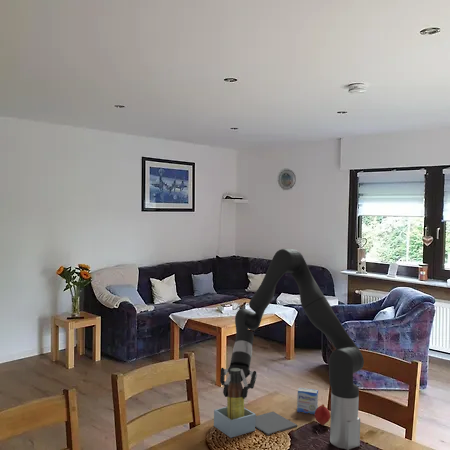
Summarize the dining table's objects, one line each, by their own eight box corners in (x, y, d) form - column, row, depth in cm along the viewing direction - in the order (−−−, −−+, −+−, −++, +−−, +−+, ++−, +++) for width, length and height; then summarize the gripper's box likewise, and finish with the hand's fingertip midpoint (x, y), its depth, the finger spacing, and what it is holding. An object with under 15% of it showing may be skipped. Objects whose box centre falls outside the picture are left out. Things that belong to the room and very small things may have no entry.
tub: (255, 430, 171) (255, 414, 171) (230, 437, 165) (231, 420, 165) (237, 419, 180) (238, 403, 180) (213, 425, 174) (214, 409, 174)
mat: (297, 426, 175) (297, 424, 175) (268, 435, 167) (268, 433, 167) (272, 412, 187) (272, 411, 187) (244, 420, 179) (244, 419, 179)
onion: (311, 424, 177) (311, 403, 177) (319, 420, 181) (320, 399, 181) (324, 429, 173) (325, 408, 173) (332, 425, 177) (333, 404, 177)
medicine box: (296, 412, 188) (297, 390, 188) (298, 407, 192) (298, 387, 192) (316, 415, 186) (317, 393, 186) (317, 410, 190) (318, 389, 190)
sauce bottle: (247, 423, 173) (248, 369, 172) (236, 428, 168) (237, 373, 168) (234, 417, 177) (235, 365, 177) (223, 423, 172) (224, 369, 172)
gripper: (222, 349, 181) (213, 390, 170) (259, 352, 178) (252, 394, 166) (225, 358, 186) (217, 399, 175) (261, 361, 183) (255, 403, 172)
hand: (234, 396), depth 171 cm, fingers closed on sauce bottle, 6 cm apart
